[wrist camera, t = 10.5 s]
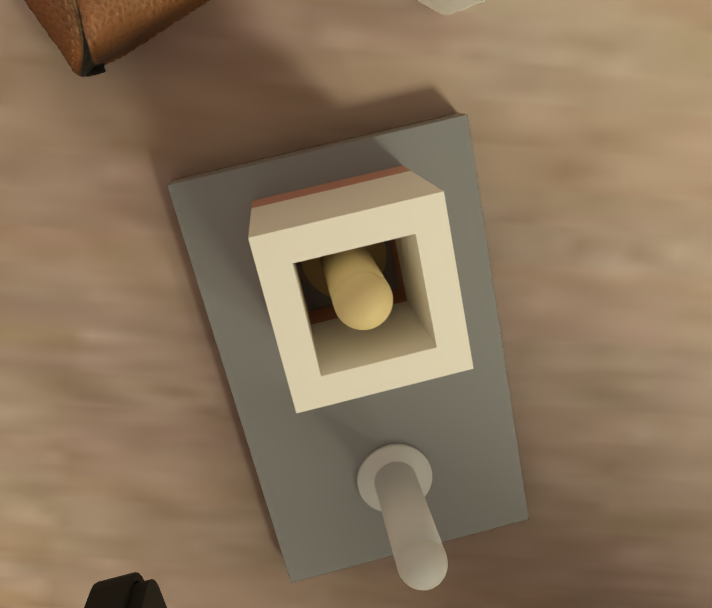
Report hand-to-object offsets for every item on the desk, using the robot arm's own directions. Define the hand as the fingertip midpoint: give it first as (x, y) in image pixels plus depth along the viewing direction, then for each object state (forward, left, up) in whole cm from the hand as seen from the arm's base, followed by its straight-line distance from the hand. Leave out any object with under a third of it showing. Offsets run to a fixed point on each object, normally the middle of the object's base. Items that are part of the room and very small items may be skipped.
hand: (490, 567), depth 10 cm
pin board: (-5, 0, -18) cm, 19 cm away
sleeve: (0, 0, -17) cm, 17 cm away
